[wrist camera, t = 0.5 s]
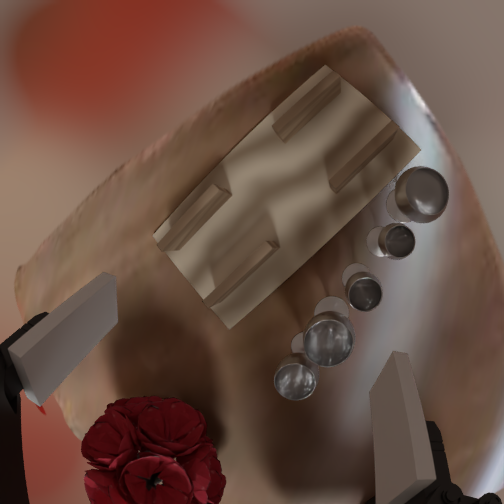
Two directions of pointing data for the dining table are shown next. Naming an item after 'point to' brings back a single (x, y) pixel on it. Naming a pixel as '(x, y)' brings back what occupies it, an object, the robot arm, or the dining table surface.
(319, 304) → the goblet set
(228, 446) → the dining table surface
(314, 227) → the glass rack
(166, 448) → the bouquet
